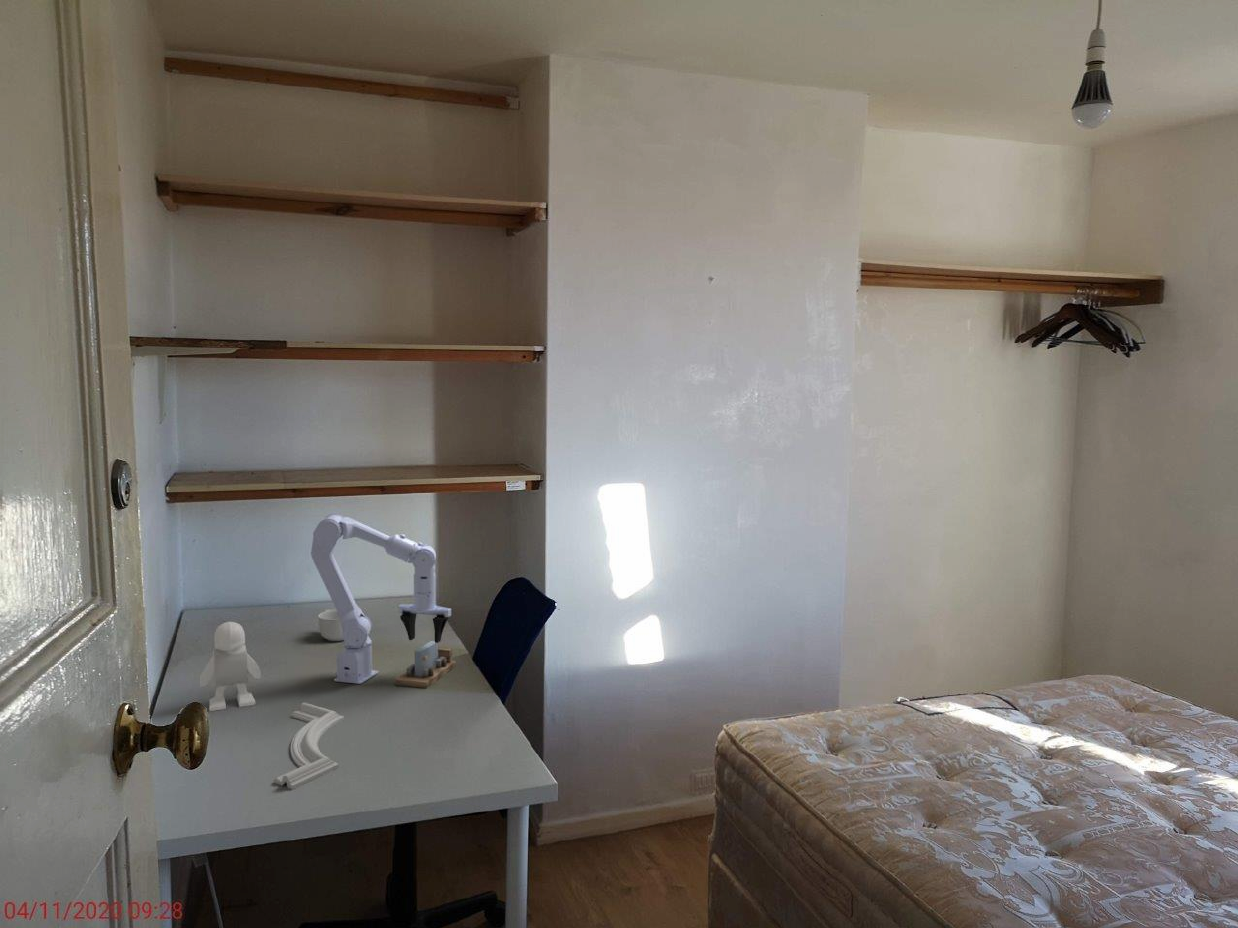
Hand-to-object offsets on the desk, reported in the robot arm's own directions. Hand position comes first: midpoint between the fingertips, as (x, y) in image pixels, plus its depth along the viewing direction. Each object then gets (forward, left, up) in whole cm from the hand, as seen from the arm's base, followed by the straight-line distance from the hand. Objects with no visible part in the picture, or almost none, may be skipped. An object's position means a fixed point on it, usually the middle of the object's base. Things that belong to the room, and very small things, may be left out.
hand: (424, 640), depth 237 cm
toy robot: (-31, +36, -10) cm, 49 cm away
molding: (-49, +5, -10) cm, 50 cm away
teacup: (+24, +41, -10) cm, 48 cm away
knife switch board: (0, -1, -9) cm, 9 cm away
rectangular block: (0, -1, -8) cm, 8 cm away
